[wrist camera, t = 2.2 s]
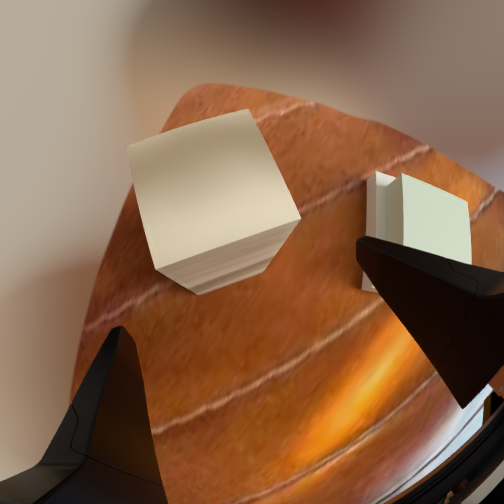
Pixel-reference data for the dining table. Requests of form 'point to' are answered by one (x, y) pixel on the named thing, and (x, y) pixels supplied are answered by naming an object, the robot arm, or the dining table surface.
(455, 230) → the sage top slab
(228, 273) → the ash pillar
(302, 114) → the dining table surface
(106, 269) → the dining table surface
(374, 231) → the grey base slab
